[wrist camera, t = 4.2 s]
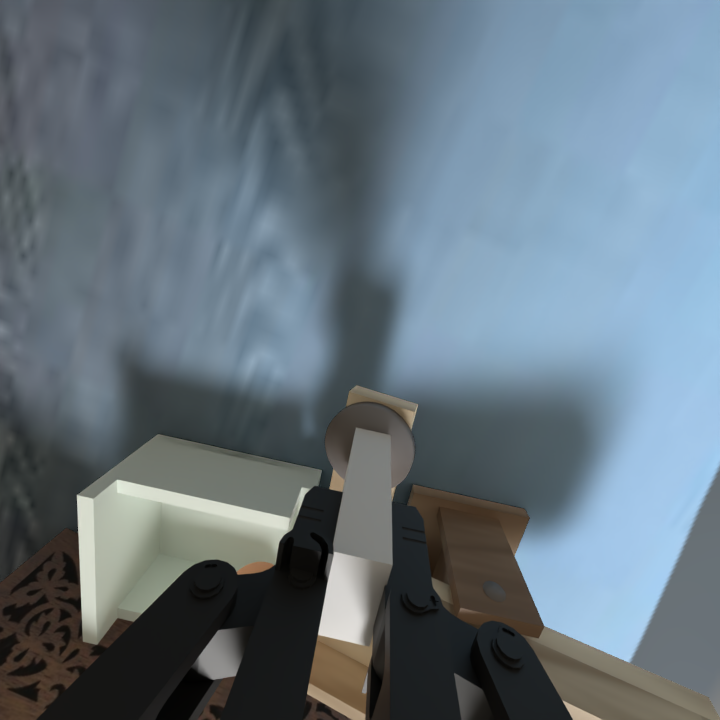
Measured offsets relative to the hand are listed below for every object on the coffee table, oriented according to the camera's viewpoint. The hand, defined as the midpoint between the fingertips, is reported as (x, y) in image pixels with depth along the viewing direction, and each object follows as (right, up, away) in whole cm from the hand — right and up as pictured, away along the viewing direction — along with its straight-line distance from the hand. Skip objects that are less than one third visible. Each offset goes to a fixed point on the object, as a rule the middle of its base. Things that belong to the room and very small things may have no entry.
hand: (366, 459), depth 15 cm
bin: (-9, -6, +8) cm, 14 cm away
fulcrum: (+5, -9, +8) cm, 13 cm away
